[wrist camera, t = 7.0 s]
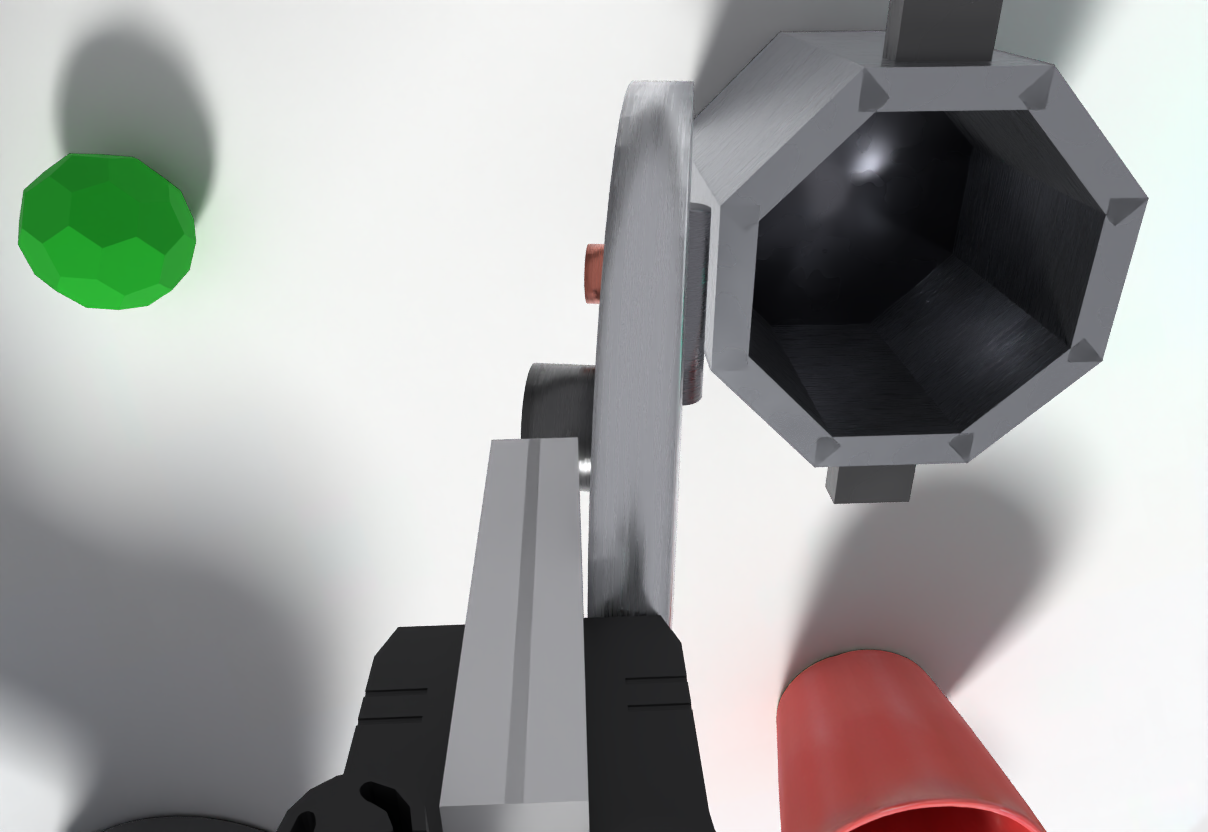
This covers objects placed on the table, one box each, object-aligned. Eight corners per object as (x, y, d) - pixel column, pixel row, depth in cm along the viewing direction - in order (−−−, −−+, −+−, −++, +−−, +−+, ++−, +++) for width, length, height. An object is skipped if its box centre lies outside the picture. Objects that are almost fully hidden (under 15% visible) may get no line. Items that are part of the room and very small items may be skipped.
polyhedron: (38, 218, 31) (-45, 262, 26) (106, 105, 29) (29, 133, 25) (171, 306, 32) (113, 361, 28) (242, 205, 31) (192, 247, 27)
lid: (695, 499, 26) (583, 494, 26) (719, 39, 20) (574, 38, 20) (686, 959, 14) (484, 940, 15) (736, 180, 8) (396, 175, 9)
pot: (668, 393, 35) (701, 526, 27) (682, -37, 28) (732, -27, 20) (946, 385, 35) (1058, 515, 27) (1029, -40, 28) (1214, -30, 20)
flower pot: (755, 798, 46) (800, 993, 38) (732, 642, 41) (778, 827, 33) (959, 765, 46) (1051, 955, 37) (962, 603, 41) (1069, 780, 32)
